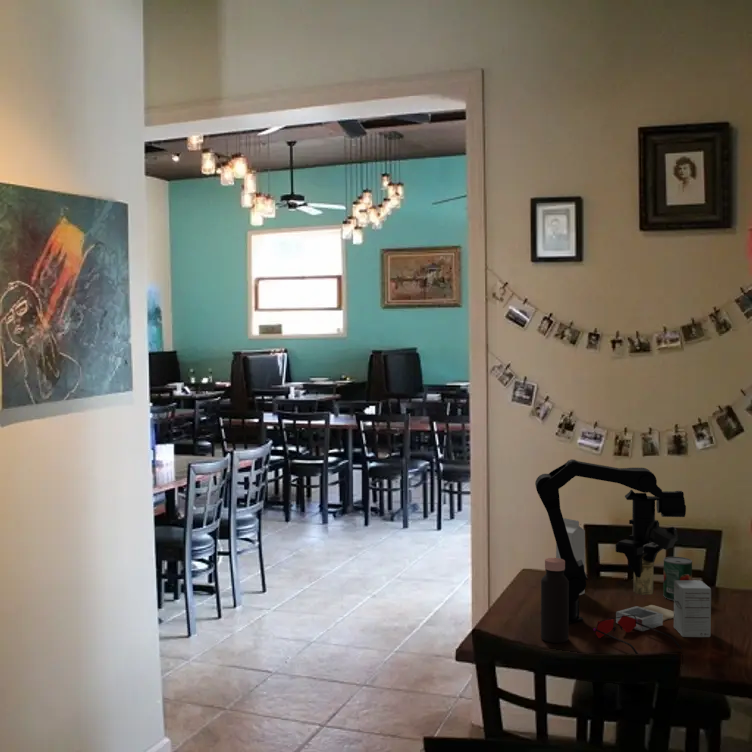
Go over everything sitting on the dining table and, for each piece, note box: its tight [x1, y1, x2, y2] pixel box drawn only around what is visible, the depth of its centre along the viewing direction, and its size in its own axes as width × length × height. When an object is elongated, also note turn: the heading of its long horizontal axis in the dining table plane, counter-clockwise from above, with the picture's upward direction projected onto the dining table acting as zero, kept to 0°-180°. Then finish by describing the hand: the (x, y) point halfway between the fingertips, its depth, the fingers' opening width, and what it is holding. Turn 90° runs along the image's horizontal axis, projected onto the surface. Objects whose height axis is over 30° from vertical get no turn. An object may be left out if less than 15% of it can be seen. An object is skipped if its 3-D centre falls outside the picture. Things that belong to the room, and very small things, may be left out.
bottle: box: [540, 557, 570, 644], centre depth 226 cm, size 7×7×20 cm
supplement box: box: [673, 579, 712, 638], centre depth 230 cm, size 7×7×13 cm
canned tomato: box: [662, 556, 693, 602], centre depth 261 cm, size 8×8×11 cm
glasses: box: [593, 615, 683, 655], centre depth 223 cm, size 14×16×5 cm
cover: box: [633, 560, 655, 596], centre depth 238 cm, size 5×5×8 cm
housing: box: [615, 605, 664, 632], centre depth 237 cm, size 8×8×3 cm
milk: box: [555, 517, 586, 596], centre depth 265 cm, size 6×6×22 cm
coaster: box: [641, 604, 674, 622], centre depth 246 cm, size 10×10×1 cm
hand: (643, 575), depth 238 cm, fingers closed on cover, 5 cm apart
